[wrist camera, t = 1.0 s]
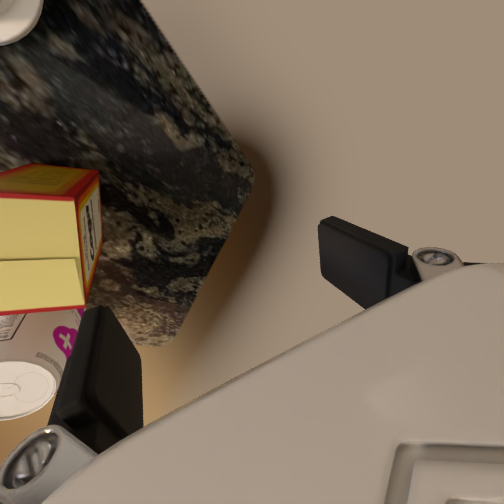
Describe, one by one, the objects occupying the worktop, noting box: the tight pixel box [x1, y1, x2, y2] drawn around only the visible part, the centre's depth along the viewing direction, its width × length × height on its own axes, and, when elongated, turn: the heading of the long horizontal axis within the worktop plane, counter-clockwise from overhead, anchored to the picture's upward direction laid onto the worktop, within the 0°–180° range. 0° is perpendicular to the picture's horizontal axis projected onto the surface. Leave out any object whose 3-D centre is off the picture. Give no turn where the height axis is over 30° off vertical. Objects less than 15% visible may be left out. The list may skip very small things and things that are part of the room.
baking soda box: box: [0, 163, 103, 316], centre depth 25 cm, size 10×6×16 cm
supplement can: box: [0, 304, 87, 420], centre depth 29 cm, size 8×8×15 cm
